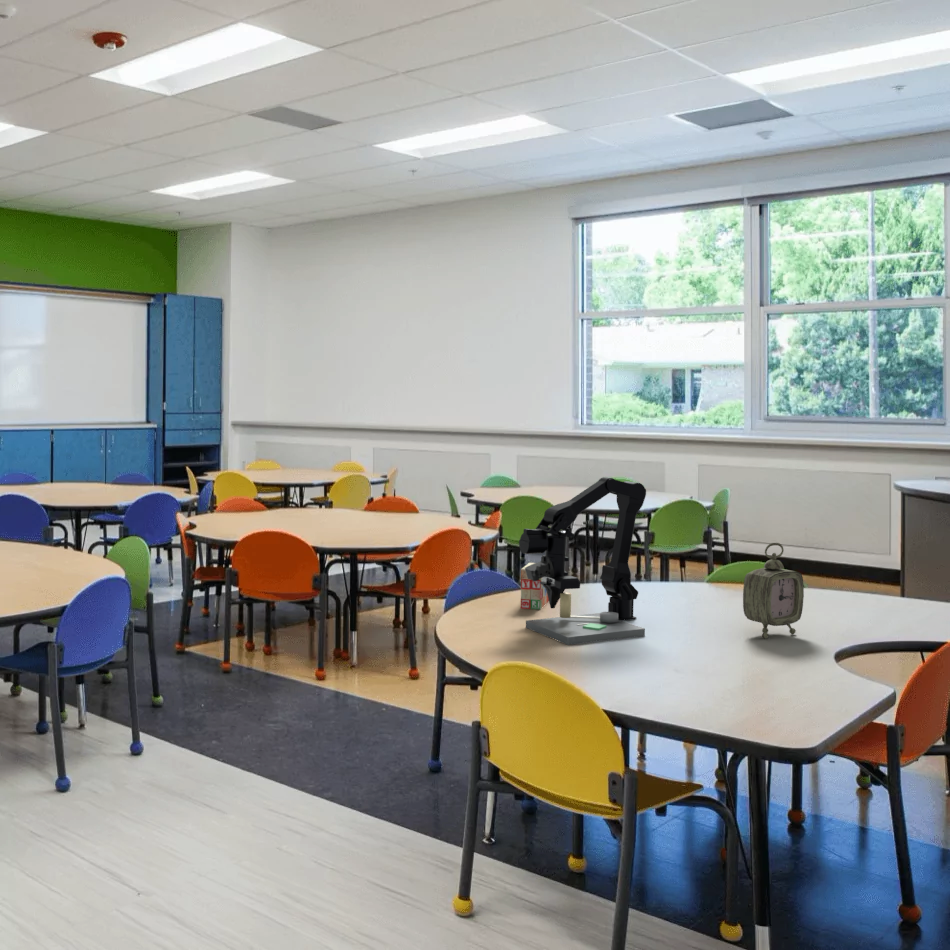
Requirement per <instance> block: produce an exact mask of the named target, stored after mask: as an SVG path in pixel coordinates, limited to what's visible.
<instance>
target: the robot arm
mask: <svg viewBox="0 0 950 950" xmlns="http://www.w3.org/2000/svg"><path fill="white" fill-rule="evenodd" d="M608 494H613V495H615V496H616V503H617V506H618V511H619V512H618V517H617V524H616V529H615V535H614V541H613V542H614V543H613V548H612V551H611V552H612V554H611V558H610V562H609V563H608V564H607V565H604V564H603V565H602V567H601V575H600V577H599V579H600V580H601V585H602V587H603V589H604V590H605V594H606V595H607V596H609V602H608V604H607V612H616V613H618V620H621V621H631V620H637V617H636V616H634V604H635V603H634V600H637V598H638V595H639V591H638V590H637V588H635V586H633V584H632V582H631V580H632V572H631V569H630V564H629V561H630V560H629V559H630V553H631V548H632V541H633V536H634V530H635V525H636V519H637V514H638V512H640V510H641V509H642V507H643V505H644V503H645V500H646V496H647V489H646V488H645V486H644V485H643V484H642V483H640V482H637V481H636V482H635V481H634V482H633V481H626V480H624V481H621V480H618V479H615V478H613V477H607V476H603V477H601V478H599V479H598V481H596V482H594V483H593V484H592V485H590V486H588V487H587V488H586V489H584V490H583V491H581V492H580V493H578V494H577V495H575V496H574V497H572V498H571V499H569V500H567V501H565V502H561V503H557V504H555V505H553V506H550V507H549V508H547V509H545V511H544V514H543V516H542V517H543V518H542V519H541V520H540V521H539V523H538V524H537V526H536V527H535V528H532V529H530V528H524V529H523V532H522V534H521V536H520V538H519V540H518V545H519V550H520V552H521V553H522V554H524V555H526V554H528V555H529V554H530V555H531V554H532V555H533V554H543V555H542V556H541V557H540V559H541V560H540V561H537V562H533V563H534V564H532V565H530V566H528V567H526V568H525V570H526V574H527V578H528V579H531V580H532V581H537V580H539V579H540V578H542V582H540V584H542V585H543V586H544V587H545V588H546V591H547V595H548V599H549V601H548V603H549V607H550V609H555V608H556V605H557V604H558V602H559V601H560V593H565V590H573V589H574V590H576V589H580V588H581V580H580V579H579V578H578V577H576V576H573V575H569V572H568V571H566V562H569V560H570V557H568V556H567V539H568V538H574V537H575V535H574V534H573V532H572V531H571V530H570V528H569V527H570V526H571V525H572V524H573V523H574V522H575V521H576V520H577V518H578V516H579V515H580V514H581V513H582V512H584V511H585V510H586V509H589V507H591V506H593V505H594V504H595V503H597V502H598V501H600V500H601V499H602V498H604V497H606V496H607V495H608Z"/></svg>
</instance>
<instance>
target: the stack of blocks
mask: <svg viewBox="0 0 950 950" xmlns="http://www.w3.org/2000/svg"><path fill="white" fill-rule="evenodd" d="M534 563H535V562H528V563H527V564H526V565H524V566H523V567H521V569H520V609H524V610H525V609H526V610H541V609H542V607H543V606H544V605H545V604H546V605H547V603H549V599H548V595H547V591H546V588H545V587H544V586H543V585H542V584H540V582H542V578H540V579H539V580H537V581H532V580H531V579H528V578H527V574H526V570H525V568H526V567H528V566H530V565H532V564H534ZM546 605H545V606H546ZM545 606H544V607H545ZM544 607H543V608H544Z"/></svg>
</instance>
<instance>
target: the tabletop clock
mask: <svg viewBox="0 0 950 950" xmlns="http://www.w3.org/2000/svg"><path fill="white" fill-rule="evenodd" d="M772 546H778V547H780V548H781V552H780V553H779V554H776V552H773V553H772V554H771V555H768V552H767V551H768V550H769V548H771V547H772ZM783 554H784V545H782V544H781V543H779V542H771V543H769V544H768V545H767V546H766V547H765V549H764V555H765V556H766V558H768V559H769V560H767V561H766V562H765V563H764V565H763V567H761V568H757V569H754V570H751V571H750V572H747V573H746V574H745V576H744V579H743V589H742V590H743V591H742V593H743V594H742V608H743V613H744V616H745V617H746V619H747V620H750V621H751V622H757V623H761V624H762V627H763V628H762V629H761V632H762V633H761V638H762V639H766V640H767V639H768V637H769V634H768V632H769V628H768V627H769V626H772V627H773V626H774V627H778V626H782V627H783V626H787V628H788V629H789V634H790V635H794V634H796V633H797V632H796V631H797V630H796V628H795V627H792V626H791V624H795V623H797V622H798V621H799V620H801V617H802V614H803V609H804V608H803V607H804V597H805V596H804V595H805V594H804V593H805V592H804V590H805V589H804V588H805V587H804V579H803V577H804V576H803V573H801V572H799V571H795V570H790V569H785V567H784V564H783V563H782V561H781V560H779V559H778V558H780V557H781V556H782V555H783Z"/></svg>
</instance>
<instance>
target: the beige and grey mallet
mask: <svg viewBox="0 0 950 950" xmlns="http://www.w3.org/2000/svg"><path fill="white" fill-rule="evenodd" d="M599 613H600V617H594V616H575V615H572V593H570V592H563V593H560V599H559V617H561V618H585V619H600V621H601V622H606V623H615V622H618V613H616V612H608V611H601V612H599Z"/></svg>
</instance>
